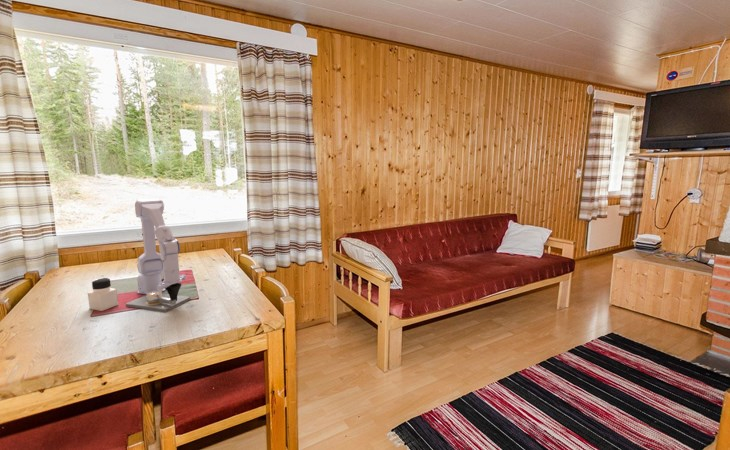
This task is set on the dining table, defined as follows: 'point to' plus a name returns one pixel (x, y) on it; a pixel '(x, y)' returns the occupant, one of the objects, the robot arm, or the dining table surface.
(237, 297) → the dining table surface
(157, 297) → the tan piece
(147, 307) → the board
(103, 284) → the medicine bottle
